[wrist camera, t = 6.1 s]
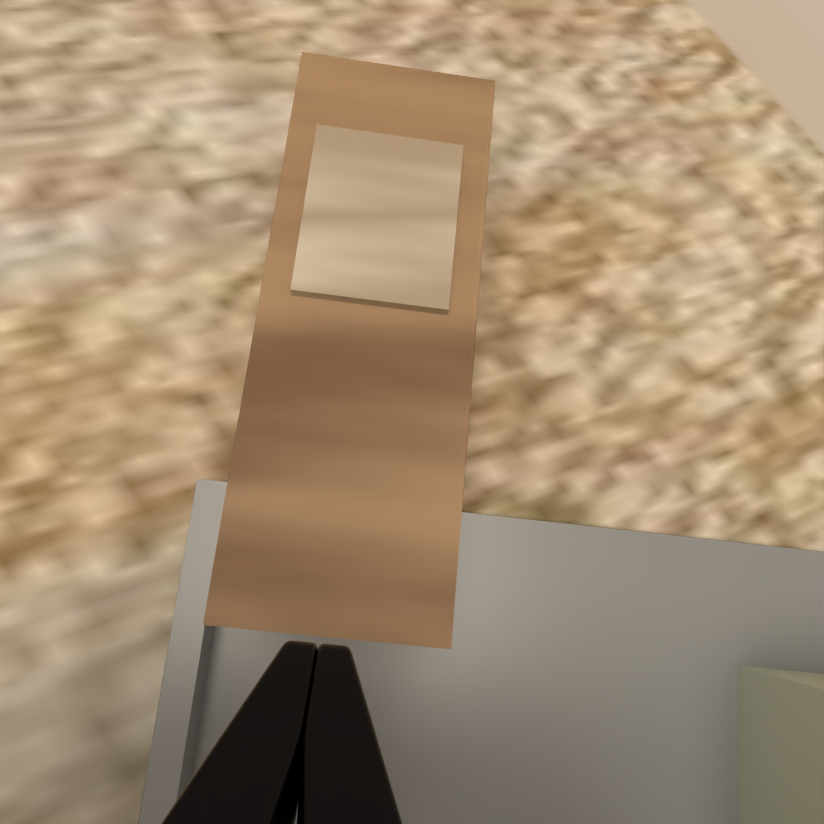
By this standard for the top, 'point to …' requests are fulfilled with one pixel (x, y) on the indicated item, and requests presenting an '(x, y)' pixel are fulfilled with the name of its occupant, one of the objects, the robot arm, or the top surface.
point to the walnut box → (361, 363)
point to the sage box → (780, 746)
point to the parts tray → (530, 674)
